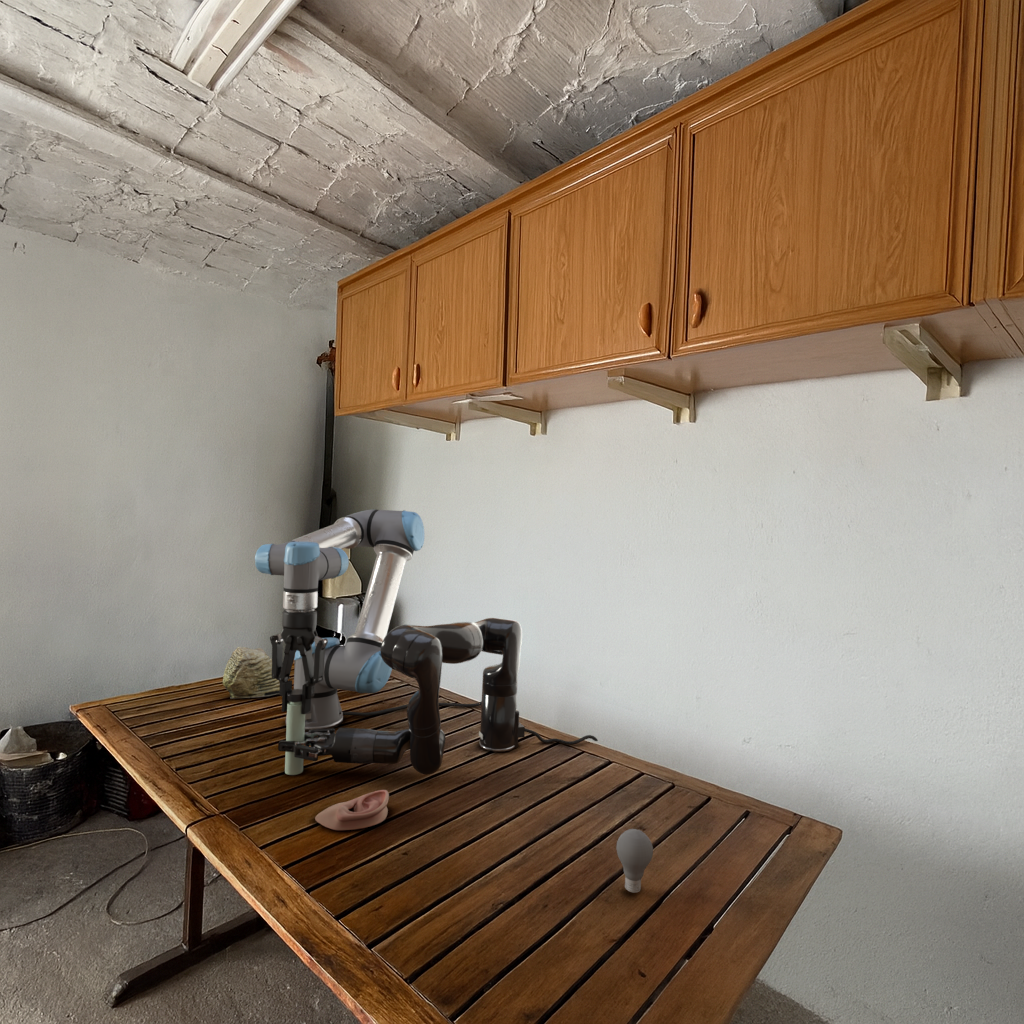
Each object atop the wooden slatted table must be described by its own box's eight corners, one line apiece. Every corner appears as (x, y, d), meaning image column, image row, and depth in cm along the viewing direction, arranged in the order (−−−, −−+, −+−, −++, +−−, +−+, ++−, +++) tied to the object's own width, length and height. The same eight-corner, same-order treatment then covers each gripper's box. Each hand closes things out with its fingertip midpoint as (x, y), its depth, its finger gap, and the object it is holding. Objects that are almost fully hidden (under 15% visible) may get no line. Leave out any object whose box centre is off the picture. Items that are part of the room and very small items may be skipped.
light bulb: (610, 879, 108) (613, 822, 108) (644, 879, 109) (647, 822, 109) (619, 902, 102) (622, 840, 102) (655, 901, 103) (658, 840, 103)
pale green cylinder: (306, 770, 146) (309, 696, 146) (292, 776, 143) (294, 700, 142) (295, 766, 148) (298, 692, 148) (281, 771, 145) (283, 696, 144)
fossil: (218, 695, 195) (220, 647, 195) (278, 685, 208) (279, 640, 207) (228, 703, 189) (230, 653, 188) (289, 692, 201) (290, 645, 201)
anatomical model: (307, 805, 121) (336, 780, 133) (306, 826, 121) (335, 798, 133) (372, 815, 119) (395, 788, 130) (371, 836, 119) (394, 807, 130)
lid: (308, 696, 147) (308, 689, 147) (304, 702, 143) (305, 694, 143) (288, 696, 147) (289, 689, 147) (284, 702, 143) (285, 694, 143)
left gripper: (256, 609, 143) (252, 712, 143) (326, 615, 139) (322, 720, 140) (275, 604, 150) (271, 702, 151) (342, 609, 147) (338, 710, 147)
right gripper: (365, 718, 152) (294, 715, 152) (348, 741, 138) (270, 737, 138) (364, 749, 152) (293, 746, 152) (347, 775, 138) (269, 771, 138)
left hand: (296, 710), depth 145 cm, fingers closed on lid, 4 cm apart
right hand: (283, 741), depth 145 cm, fingers closed on pale green cylinder, 4 cm apart
